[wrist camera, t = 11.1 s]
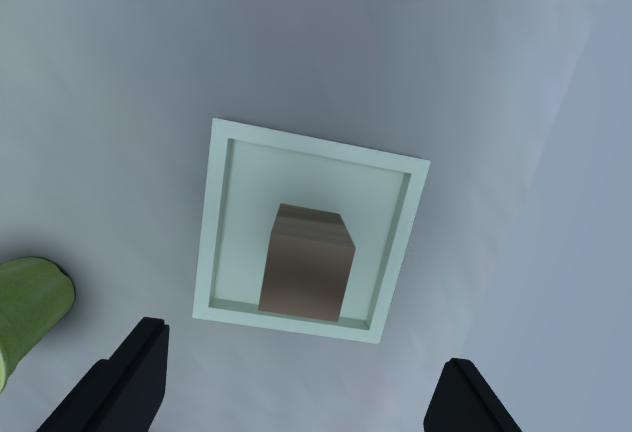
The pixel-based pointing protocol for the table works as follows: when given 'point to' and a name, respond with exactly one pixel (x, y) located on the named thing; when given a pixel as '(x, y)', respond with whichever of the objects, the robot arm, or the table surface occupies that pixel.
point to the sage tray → (309, 192)
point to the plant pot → (29, 307)
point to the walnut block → (307, 264)
